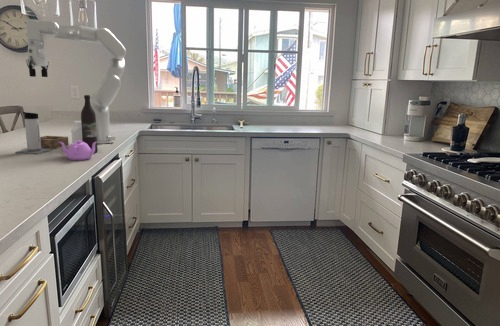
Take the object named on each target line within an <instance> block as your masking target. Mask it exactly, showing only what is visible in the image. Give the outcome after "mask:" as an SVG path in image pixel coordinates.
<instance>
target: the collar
mask: <svg viewBox="0 0 500 326" xmlns="http://www.w3.org/2000/svg"><path fill="white" fill-rule="evenodd" d="M40 140H41V148H45V149H53V150H57V149H60V148H63V147H62V144H61V143H59V142H63V143H64V144H65V147H67V146H68V147H69V136H60V135H44V136H40Z"/></svg>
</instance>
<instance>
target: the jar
mask: <svg viewBox="0 0 500 326" xmlns="http://www.w3.org/2000/svg"><path fill="white" fill-rule="evenodd" d="M73 125H74V126H73V127H72V129H71V131H70V132H71V141H72V142H71V144H72V143H77V142H76V141H78V140H80V141H81V142H83V141H82V126H81V120H74V121H73Z"/></svg>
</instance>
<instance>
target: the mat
mask: <svg viewBox="0 0 500 326" xmlns="http://www.w3.org/2000/svg"><path fill="white" fill-rule="evenodd" d="M53 150H54V149H45V148H41V150H40V151H28V150H27V148H26V149H21V150H17V151H15V154H26V155H39V154H43V153H47V152H50V151H53Z"/></svg>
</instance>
